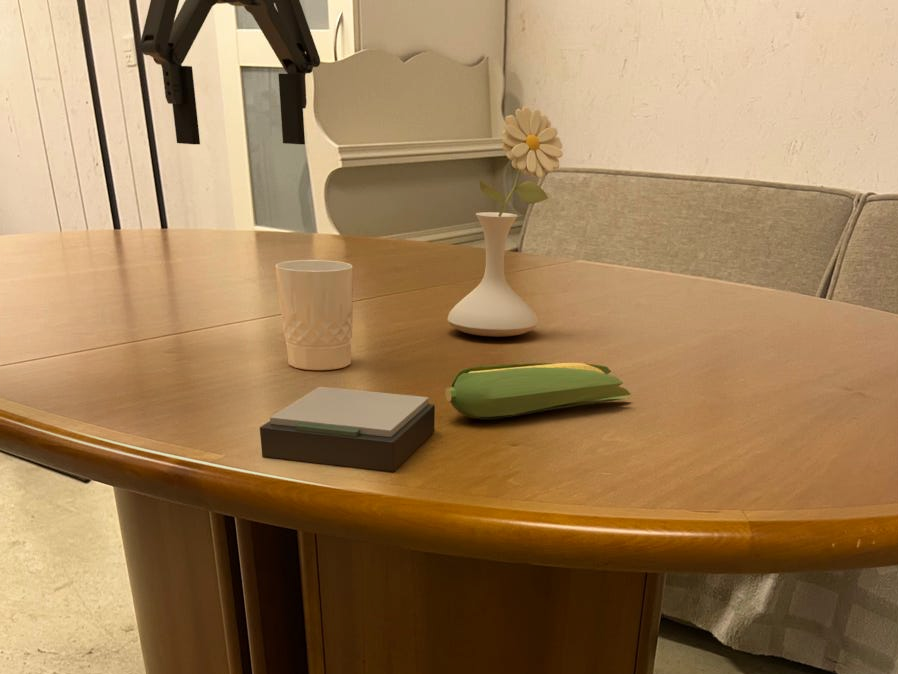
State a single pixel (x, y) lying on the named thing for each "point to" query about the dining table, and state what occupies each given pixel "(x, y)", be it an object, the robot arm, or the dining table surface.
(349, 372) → the dining table surface
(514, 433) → the dining table surface
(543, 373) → the edible corn
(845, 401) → the dining table surface
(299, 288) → the white cup
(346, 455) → the scale
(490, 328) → the flower in vase
